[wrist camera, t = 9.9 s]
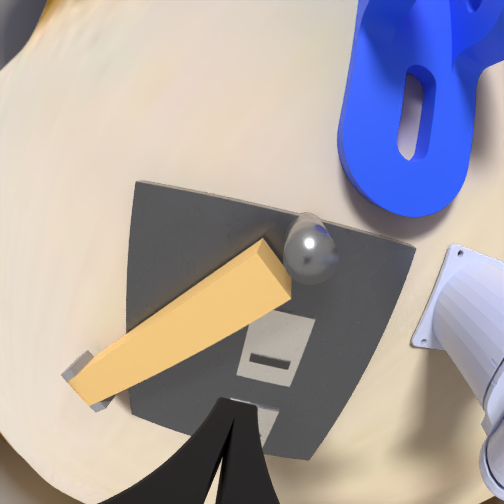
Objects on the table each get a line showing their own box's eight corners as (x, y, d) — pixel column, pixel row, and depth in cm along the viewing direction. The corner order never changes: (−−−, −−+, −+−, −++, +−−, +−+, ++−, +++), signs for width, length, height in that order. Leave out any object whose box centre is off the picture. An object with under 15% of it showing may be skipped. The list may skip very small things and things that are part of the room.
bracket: (361, -30, 12) (385, -105, 3) (459, 11, 11) (516, -35, 2) (323, 191, 17) (356, 212, 8) (437, 226, 16) (523, 270, 8)
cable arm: (254, 226, 16) (246, 239, 13) (299, 287, 17) (300, 310, 14) (78, 357, 21) (60, 375, 19) (110, 392, 22) (95, 412, 19)
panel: (411, 241, 17) (451, 269, 11) (308, 452, 23) (308, 496, 18) (143, 177, 18) (93, 183, 13) (135, 407, 24) (112, 444, 19)
